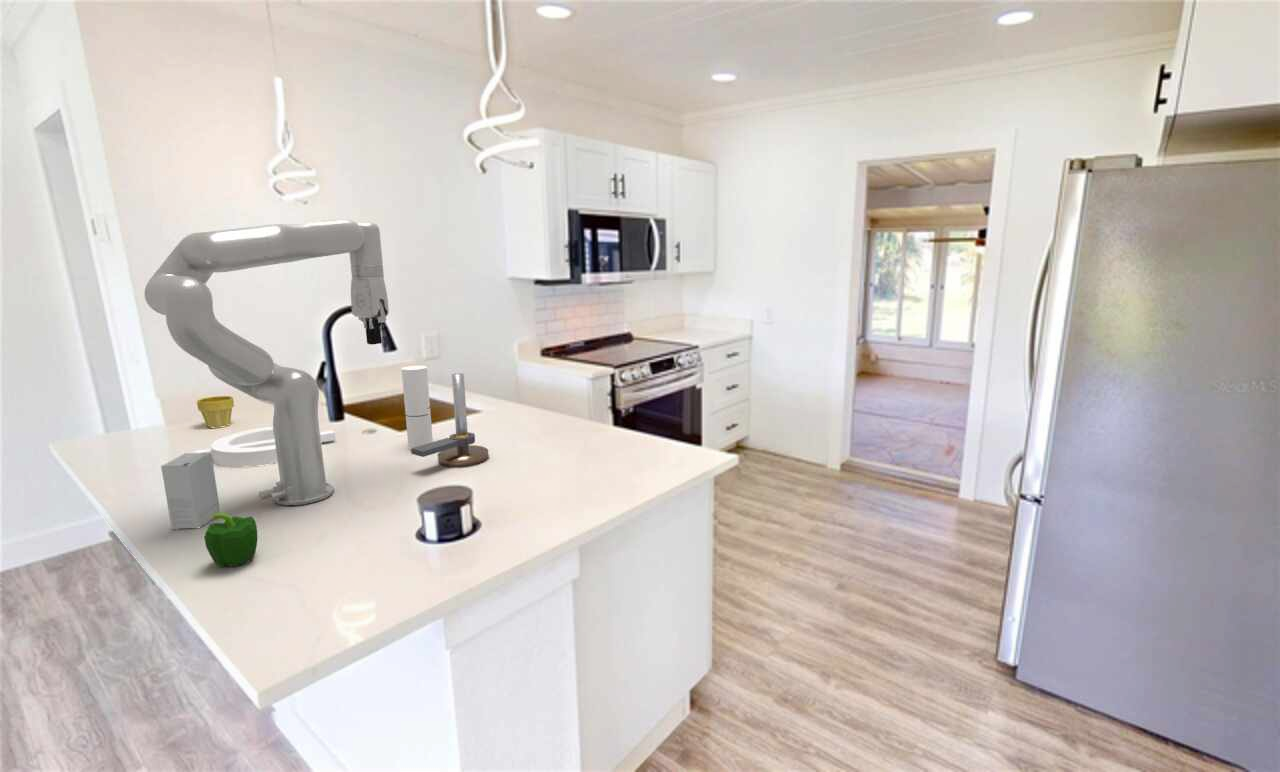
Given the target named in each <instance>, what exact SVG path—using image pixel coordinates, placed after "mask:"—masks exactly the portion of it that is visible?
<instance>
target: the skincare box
mask: <svg viewBox="0 0 1280 772" xmlns="http://www.w3.org/2000/svg"><path fill="white" fill-rule="evenodd" d="M160 468H161V473H162V481H163V485H164V491H165V496H166V503H167V511H168V516H169V521H170V527H171V529H172V530H179V529H178V528H198V527H201V526H202V525H203V526H205V525H206V524H208V523H209V522H210V521H211V520H213V519H212V516H213V515H215V514H221V508H220V501H219V495H218V488H217V483H216V475H215V469H214V461H213V460H212V454H211V453H195V452H185V453H182V454H181V455H179V456H177V457H176V458H174V459H172V460H171V461H168V462H167V463H164V464H162V465H161V466H160ZM209 520H210V521H209ZM208 521H209V522H208ZM205 523H206V524H205ZM204 524H205V525H204ZM203 526H202V527H203ZM202 527H201V528H202Z"/></svg>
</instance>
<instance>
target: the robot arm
mask: <svg viewBox="0 0 1280 772" xmlns="http://www.w3.org/2000/svg"><path fill="white" fill-rule="evenodd" d="M382 253H383V252H382V242H381V232H380V226H378V224H377V223H373V222H356V221H353V220H351V219H333V220H323V221H321V222H320V221H319V222H312V223H311V222H310V223H301V224H293V223H292V224H290V223H289V224H288V223H287V224H284V223H283V224H267V225H266V224H265V225H259V226H248V227H241V228H230V229H223V230H221V229H220V230H213V231H212V230H211V231H202V232H193V233H191V234H190V233H189V234H188V235H186V236H184V237H183V238H182V239H181V240H180V241H179V242H178V244H177V245H176V246H175V247H174V249H172V251H171V252H170V254H169V255H168V256H167V257H166V259H165V260H164V261H163V263H162V264H161V265H159V267H158V269H157V270H156V271H155V272H154V273H153V275H152V276H151V277H150V278H149V280H148V281H147V284H146V285H145V288H144V300H145V302H146V304H147V305H148V307H150V309H152V310H153V311H154V312H155V313H158V314H160V315H163V316H165V321H166V326H167V329H168V332H169V333H170V336H171V337H172V340H173V341H174V342H175V344H176V345H177V346H178V347H179V348H180V349H182V350H183V351H184V352H185V353H187V354H188V355H190V356H192V358H195V359H197V360H198V361H200V362H202V363H203V364H205V365H206V366H208V367H207V368H208V369H209V370H210V372H211V374H212V375H213V376H214V377H215V378H217V379H218V380H220V381H222V382H223V383H225V384H227V385H229V386H230V387H232V388H234V389H237V390H238V391H240V392H242V393H244V394H246V395H248V396H250V397H251V398H253V399H256V400H258V401H260V402H262V403H264V404H268V405H271V406H273V407H274V409H273V418H272V420H273V421H272V427H273V432H274V438H275V446H276V453H277V460H278V463H277V467H278V472H279V473H278V474H279V480H280V481H275V485H274V486H273V487H272V488H271V489H266V490H262V491H259V492H258V498H259V499H260V501H262V500H267V499H269V498H270V499H271V500H274V501H275V503H276V504H279V505H280V504H281V506H287V505H295V506H302V504H304V505H309V504H313V503H317V502H319V501H323V500H325V499H327V498H329V497H330V496H332V495H333V493H334V492H335V488H334V485H333V484H331V483H327V481H326V480H327V479H326V473H325V464H324V456H323V447H322V446H321V443H322V442H321V437H320V432H321V429H320V422H319V421H320V420H319V402H320V401H319V400H320V399H319V398H320V391H319V386H318V385H319V384H318V383H317V381H316V380H315V378H314V377H313V376H312V375H311V374H310V373H308V372H306V371H305V370H301V369H298V368H295V367H294V368H292V367H288V366H287V367H285V366H282V365H279V364H277V363H276V362H274V360H273V358H272V356H271V355H270V354H269V353H268V351H266V350H264V349H263V348H262V347H260V346H259V345H257V344H255V343H252V342H250V341H249V340H247V339H246V338H244V337H242V336H240V335H239V334H237V333H235V332H234V331H232V330H230V329H229V328H228V327H226V326H225V325H223V324H222V323H221V322H219V320H218V319H217V318H216V316H215V313H214V307H213V306H214V304H213V303H214V302H213V301H214V300H213V296H212V291H211V290H210V288H209V287H208V285H207V282H208V281H209V279H210V278H211V277H212V276H213V274H214V273H228V272H234V271H235V272H236V271H241V270H248V269H252V268H253V269H254V268H259V267H265V266H266V267H267V266H271V265H280V264H287V263H294V262H300V261H303V260H309V259H315V258H322V257H328V256H337V255H343V254H349V262H350V271H351V282H350V302H351V303H350V306H351V313H352V315H353V316H354V317H358V318H357V319H358V320H359V321H360V322H362V323H363V327H364V329H365V335H366V336H365V337H366V344H367V345H380V344H382V342H383V341H382V340H383V339H382V331H381V330H382V327H383V326H382V325H383V323H386V321H387V316H388V315H389V299H388V294H387V293H388V292H387V288H386V283H385V279H384V278H385V276H384V275H385V274H384V266H383V265H384V264H383V254H382ZM331 494H332V495H331ZM328 496H329V497H328ZM322 499H323V500H322ZM308 503H309V504H308Z"/></svg>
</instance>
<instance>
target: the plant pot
mask: <svg viewBox="0 0 1280 772" xmlns="http://www.w3.org/2000/svg"><path fill="white" fill-rule="evenodd" d="M234 403H235V400H234V397H233V396H232V395H231V396H229V395H217V396H210V397H203V398H200V399H198V400H197V401H196V405H197V410H198V411H200V412H201V415H202V418H203V420H204V422H205V425H206V428H208V427H221V426H225V425H228V424H230V425H231V422H232V421H231V419H232V412H233V411H232V410H233V408H234V406H235V404H234ZM221 428H222V427H221Z"/></svg>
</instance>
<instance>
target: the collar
mask: <svg viewBox="0 0 1280 772" xmlns="http://www.w3.org/2000/svg"><path fill="white" fill-rule="evenodd" d="M468 434H469V436H468V437H465V438H456V436H455V435H456V432H455V433H452V434H450V435H449V437H445V438H442V439H438V440H436V441H435V440H434V441H433V442H431V443H428V444H424V445H421V446H418V447H414V448H411V450H410V451H411V455H415V456H419V457H421V458H425V457H428V456H432V455H434V454H437V453H439V452H441V451H444V450H447V449H450V448H454V447H457V446H466V445H474V444H475V441H476V436H475V435H476V434H475V433H474V432H469V431H468Z"/></svg>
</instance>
